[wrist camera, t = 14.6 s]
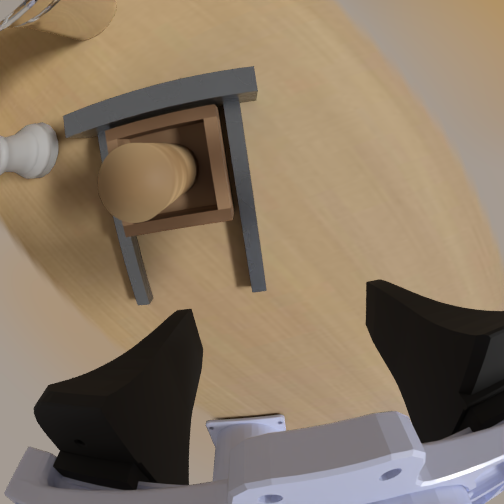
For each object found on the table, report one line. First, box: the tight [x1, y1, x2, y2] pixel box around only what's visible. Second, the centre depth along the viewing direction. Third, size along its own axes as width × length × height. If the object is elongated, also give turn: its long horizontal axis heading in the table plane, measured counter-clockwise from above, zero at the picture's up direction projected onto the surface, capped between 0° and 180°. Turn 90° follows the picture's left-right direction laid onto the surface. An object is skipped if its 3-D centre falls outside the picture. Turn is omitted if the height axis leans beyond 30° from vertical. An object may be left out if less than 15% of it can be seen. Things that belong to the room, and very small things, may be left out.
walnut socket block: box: [105, 104, 234, 237], centre depth 18 cm, size 7×7×3 cm
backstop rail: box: [63, 66, 266, 305], centre depth 19 cm, size 14×12×4 cm
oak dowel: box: [97, 143, 199, 223], centre depth 16 cm, size 4×4×8 cm
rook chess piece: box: [0, 122, 58, 179], centre depth 15 cm, size 4×4×8 cm
